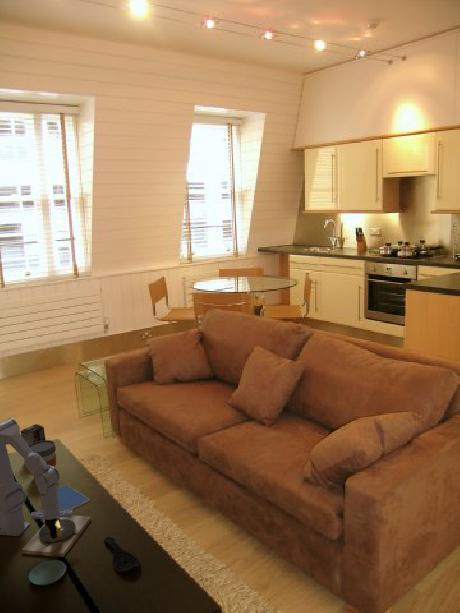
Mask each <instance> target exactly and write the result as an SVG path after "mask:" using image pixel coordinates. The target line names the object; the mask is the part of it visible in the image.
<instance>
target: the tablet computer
mask: <svg viewBox="0 0 460 613" xmlns="http://www.w3.org/2000/svg"><path fill="white" fill-rule="evenodd" d="M57 492H58V501H59V509H64V510H72V511H73V510H75V509H77V508H79V507H81V506H83V505H85V504H86V503H89V502H90V498H89V497H87V496H86V495H84V494H82V493H81V492H79V491H77V490H76V489H74V488H73V487H71V486H69V485H67V484H66V485H64V486H61V487H59V488H57Z"/></svg>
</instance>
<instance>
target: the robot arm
mask: <svg viewBox="0 0 460 613" xmlns="http://www.w3.org/2000/svg"><path fill="white" fill-rule="evenodd" d="M7 445H10V446H11V447H12V448H13V449H14V450H15V452H17V453H18V455H20V457H22V458H23V459H24V462H23V463H24V466H25V467H26V469H27V470H28V471H29V472H30V473H31V474H32V475H33V478H34V477H35V478H36V480H35V479H34V482H35V485H36V487H37V489H38V493H39V494H40V500H41V508H42V510H39V511H34V512H33V511H32V512H31V513H30V518H29V519H30V521H34V520H40V519H42V520H44V522H43V523H44V524H45V525H46V526H47V527H48V528H49V530H50V536H51V537H55V536H56V528H55V525H56V522H57V519H58V518H61V517H69V518H72V516H74V514H73V512H74V511H73V510H64V509H59V501H58V492H57V489H58V485H57V484H58V481H60V473H59V471H58V470H57V467H56V466H55V467H52V466H50V465H47V464H46V462H45V461H44V460H43V459H42V458H41V456H40V455H39V454H38V453H33V452H32V450H31V449H30V448H29V446H28V445H27V443H26V442H25V440H24V439H23V437H22V436H21V430H20V425H19V424H18V422H17V421H16V419H14V418H12V417H8V418H7V419H5V420H3V421H1V422H0V536H1V535H2V536H12V537H13V536H14V537H20V536H21V534H22V533H23V532H24V531H25V530H26V529H27V528H28V527H29V526H30V524H31V522H27V521H26V522H25V515H24V509H23V508H24V507H23V506H25V503H24V502H25V501H26V500H27V494H26V491H25V490H24V488H23V485H22V484H21V483H19V482H16V481H15V477H14V473H13V469H12V465H11V461H10V457H9V453H8V449H7Z"/></svg>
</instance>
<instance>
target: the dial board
mask: <svg viewBox="0 0 460 613" xmlns="http://www.w3.org/2000/svg"><path fill="white" fill-rule="evenodd" d="M60 519H68V520H71V521H73V522H74V523H75V526H76V530H75V532H74V533H73V535H71V536H70V537H69V538H67V539H65V540H63V541H60V542H55V543H46V542H43V541H42V540H41V539H40V538H39V531H40V530H41V528H42V527H43V526H45V523H44V524H43V525H42V527H40V529H38V531H37V532H36V533H35V534H34V535H33V537H32V538H31V539H30V540H29V541H28V542H27V543H26V544H25V545H24V547H22V549H21V552H22V554H23V555H35V556H47V557H58V558H61V557H62V558H64V557H65V556H66V554H68V551H70V549H71V548H72V547H73V546H74V544H75V543H76V542H77V540H78V539H79V537H80V536H81V535H82V533H83V532H84V530H85V529H86V528H87V527H88V525H89V524H90V523H91V521H92V517H91V516H85V515H84V516H83V515H73V516H72V518H69V517H61V518H60Z"/></svg>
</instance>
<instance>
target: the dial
mask: <svg viewBox="0 0 460 613" xmlns="http://www.w3.org/2000/svg"><path fill="white" fill-rule="evenodd" d="M42 526H43V525H42ZM55 528H56V536H55V537H51V536H50V530H49V528H48V527H47V526H46V525H45V526H43V527H42V528H41V527H40V529H41V530H40V529H39V530H40V531H39V530H38V531H39V538H40V539H41V540H42V541H43V542H46V543H55V542H60V541H63V540H65V539H67V538H69V537H70V536H71V535H73V533H74V532H75V530H76V526H75V523H74V522H73V521H71V520H68V519H60V518H58V519H57V522H56V525H55Z"/></svg>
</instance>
